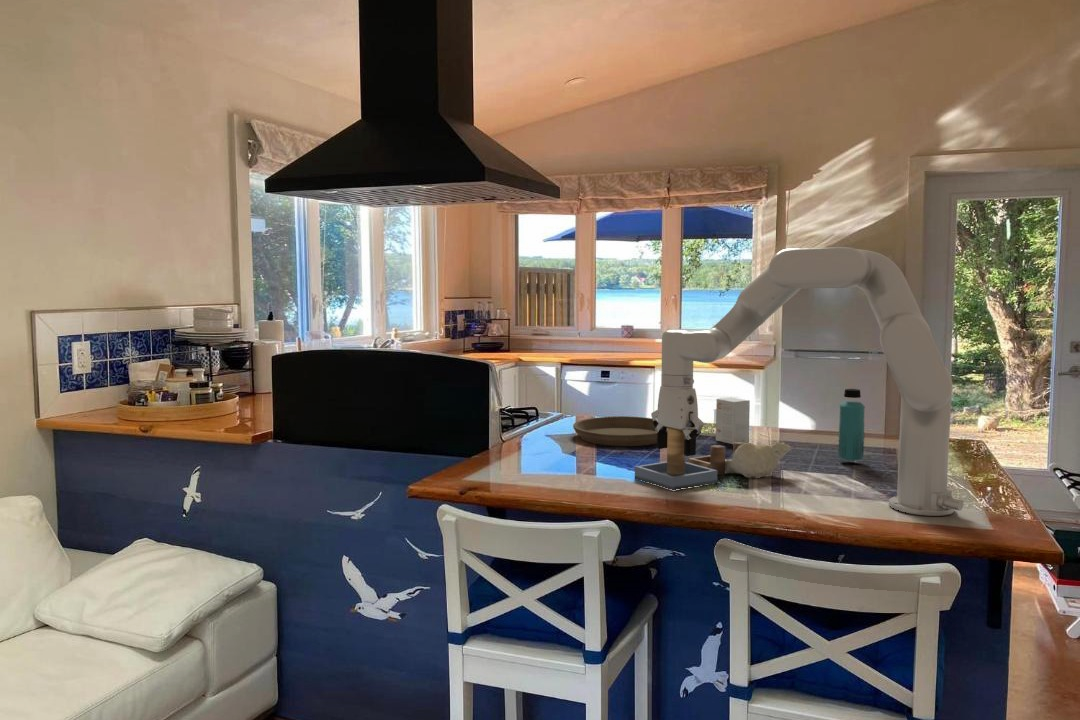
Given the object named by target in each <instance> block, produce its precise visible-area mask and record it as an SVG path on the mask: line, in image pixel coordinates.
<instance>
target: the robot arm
mask: <svg viewBox="0 0 1080 720" xmlns="http://www.w3.org/2000/svg"><path fill="white" fill-rule="evenodd" d="M850 288H851V289H853V288H858V289H859V290H861V291H862V292H863V293H864V295H865V297H866V298H867V301H868V303H869V306H870V309H871V310H872V312H873V314H874V317H875V319H876V322H877V324H878V328H879V330H880V331H879V343H880V346H881V350H882V352H883V355H884V357H885V360H886V362H887V364H888V366H889V369H890V371H891V374H892V377H893V379H894V382H895V383H896V386H897V388H898V391H899V393H900V396H901V397H900V398H901V401H900V417H899V418H900V419H899V420H900V421H899V442H898V462H897V463H898V464H897V466H898V467H897V470H898V471H897V484H896V485H897V488H896V496H892V497H890V498H889V499H888V505H889V507H890V506H891V507H890V508H892V509H893V508H894V510H896V511H898V510H899V512H902V513H905V512H906V513H907V514H910V515H911V514H912V515H916V516H917V515H918V516H926V517H940V516H941V517H942V516H948V515H952V514H953V513H954V512H955V510H956V511H962V510H963V508H964V500H963V499H959V498H956V497H953V496H952V495H953V494H952V492H953V491H952V490H951V489H948V472H949V471H948V469H949V453H950V452H949V448H950V447H949V446H950V435H951V434H950V433H951V432H950V431H951V414H952V413H951V411H952V394H953V378H952V376H951V373H950V372H949V370H948V369H947V368H946V366H945V363H944V360H943V358H942V356H941V353H940V351H939V349H938V347H937V344H936V342H935V339H934V337H933V334H932V331H931V330H932V329H931V327H930V326H929V324H928V322H927V321H926V319H925V317H924V316H923V314H922V312H921V309H920V307H919V305H918V303H917V300H916V298H915V296H914V294H913V292H912V290H911V288H910V285H909V282H908V281H907V279H906V277H905V275H904V273H903V272H902V270H901V269H900V267H899V266H898V265H897V264H896V263H895V262H894V261H893V260H892V259H890V258H889V257H888V256H885V255H883V254H882V253H880V252H877V251H873V250H868V249H859V248H854V247H850V246H841V247H839V246H837V247H815V248H814V247H813V248H810V247H809V248H785V249H782V250H780V251H778V252H777V253H775V254H774V255H773V256H772V258H771V259H770V261H769V265H768V267H766V269H765V270H763V271H762V273H760V274H759V275H758V276H757V277H756V278H755V279H754V280H753V281H751V282H750V283H749V284H748V285H747V286H746V287H745V288H744V289H742V290H741V292H740V294H739V295H738V297H737V300H736V302H735V304H734V305H733V306H732V308H731V309H730V310H729V311H728V312H727V313H726V314H725V315H724V316H723V317H722V318H721V319H720V320H718V322H716V323H715V325H713V326H711V328H709V329H705V330H699V331H691V330H687V329H669V330H667V329H666V330H665V331H663V333H662V335H661V375H660V376H661V377H660V378H661V382H660V383H661V385H660V388H659V393H658V399H657V409H656V410H654V411H652V412H651V413H650V414H651V418H652V419H653V424H654V426H655V428H656V429H655V431H656V432H658V433H657V444H656V448H657V450H663V449H667V435H668V432H666V431H667V429H668V428H672V429H677V430H683V432H684V434H685V436H686V439H684V455H685V456H686V457H691V456H695V455H696V453H697V439H699V436H700V435H701V433H702V429H703V427H704V421H703V420H702V419H700V417H699V406H698V398H697V391H696V387H695V388H694V384H695V380H694V362H696V363H704V364H706V363H707V364H709V363H713V362H716V361H718V360H722V359H723V358H725V357H727V355H729V354H730V353H732V351H734V350H735V349H736V348H737V347H738V346H739V345H741V344H742V343H743V342H744V341H745V340H746V339H747V338H749V337H750V335H752V334H753V333H754V332H755V331H756V329H757V328H759V327H760V326H762V325H763V324H764V323H765V322H766V321H767V320H768V319H769V318H771V316H773V315H774V314H775V313H776V312H777V311H778V310H779V309H780V308H781V307H782V306H784V305H785V303H787V302H788V301H789V300H791V298H793V297H794V296H795V295H796V294H797V293H799V291H801V289H850Z"/></svg>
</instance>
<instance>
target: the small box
mask: <svg viewBox="0 0 1080 720" xmlns="http://www.w3.org/2000/svg"><path fill="white" fill-rule="evenodd" d="M750 402H751V401H750V400H749V399H742V398H737V397H723V398H722V397H721V398H716V404H715V405H716V407H715V408H716V410H715V412H716V413H715V415H716V416H715V418H716V419H715V442H722V443H726V444H731V445H733V443H734V442H745V443H750V406H751V404H750Z"/></svg>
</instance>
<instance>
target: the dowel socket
mask: <svg viewBox="0 0 1080 720" xmlns="http://www.w3.org/2000/svg"><path fill="white" fill-rule="evenodd" d="M710 455H711V454H708V455H703V456H702V455H701V456H696V457H689V458H688V463H692V464H695V465H699V466H703V467H707V468H710ZM727 460H728V459H726V458H725V462H726V461H727Z"/></svg>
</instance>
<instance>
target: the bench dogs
mask: <svg viewBox="0 0 1080 720" xmlns="http://www.w3.org/2000/svg"><path fill="white" fill-rule="evenodd" d="M742 444H745V442H734V443H733V444H732V446H733V447H732V450H733V452H732V455H733V454H734V452H735V450H736V449H737V448H738V447H739V446H740V445H742ZM709 455H710V469H714V470H718V473H717V475H723V476H725V475H724V474H726V472H725V459H726V446H725V445H718V444H714V445H710V454H709Z"/></svg>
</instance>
